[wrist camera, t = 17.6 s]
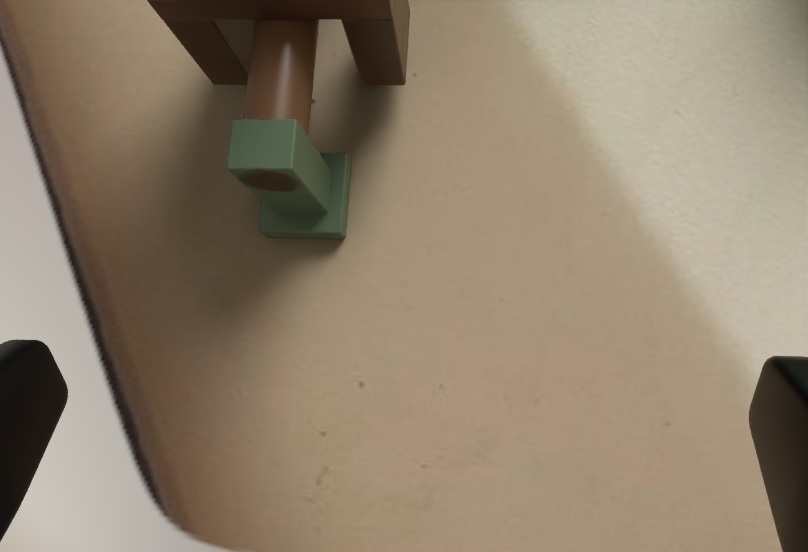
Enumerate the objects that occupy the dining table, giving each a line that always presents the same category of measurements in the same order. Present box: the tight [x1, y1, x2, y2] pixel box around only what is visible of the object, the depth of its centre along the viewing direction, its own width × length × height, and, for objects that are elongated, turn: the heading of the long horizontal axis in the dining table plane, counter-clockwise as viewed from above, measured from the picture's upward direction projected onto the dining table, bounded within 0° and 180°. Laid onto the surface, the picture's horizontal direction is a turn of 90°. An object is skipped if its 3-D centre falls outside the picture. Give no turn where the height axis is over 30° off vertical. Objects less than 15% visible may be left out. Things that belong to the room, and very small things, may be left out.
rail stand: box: [227, 19, 351, 239], centre depth 22 cm, size 14×3×5 cm, turn 177°
